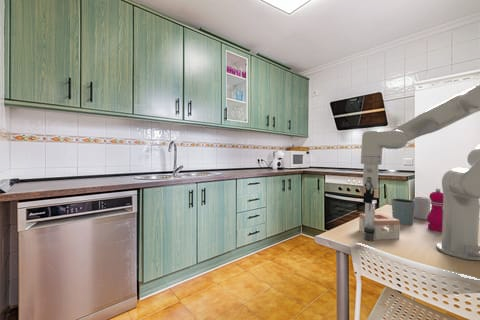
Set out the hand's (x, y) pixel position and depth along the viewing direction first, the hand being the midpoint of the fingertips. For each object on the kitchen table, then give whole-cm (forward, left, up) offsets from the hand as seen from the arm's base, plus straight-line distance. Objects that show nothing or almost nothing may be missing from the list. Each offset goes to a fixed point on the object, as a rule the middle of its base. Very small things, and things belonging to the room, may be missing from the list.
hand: (368, 200), depth 93 cm
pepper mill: (+9, -42, -17) cm, 46 cm away
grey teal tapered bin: (+20, -34, -17) cm, 43 cm away
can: (+26, -51, -17) cm, 60 cm away
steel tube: (0, -1, -17) cm, 17 cm away
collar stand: (+5, -9, -17) cm, 20 cm away
